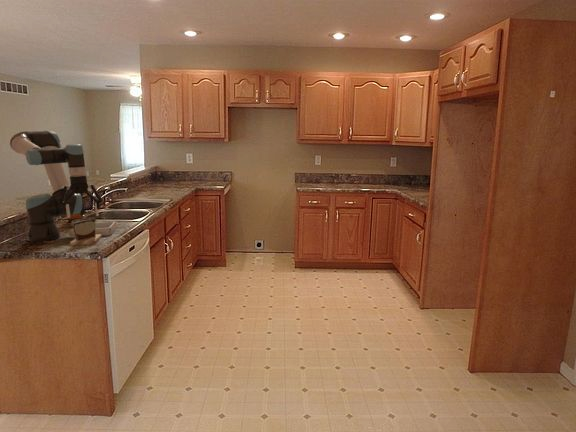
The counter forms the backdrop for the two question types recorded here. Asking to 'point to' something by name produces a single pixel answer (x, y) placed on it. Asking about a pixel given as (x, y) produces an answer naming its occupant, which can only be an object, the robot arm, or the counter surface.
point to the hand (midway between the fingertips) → (83, 216)
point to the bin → (100, 228)
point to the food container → (84, 228)
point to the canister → (77, 216)
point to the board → (86, 240)
